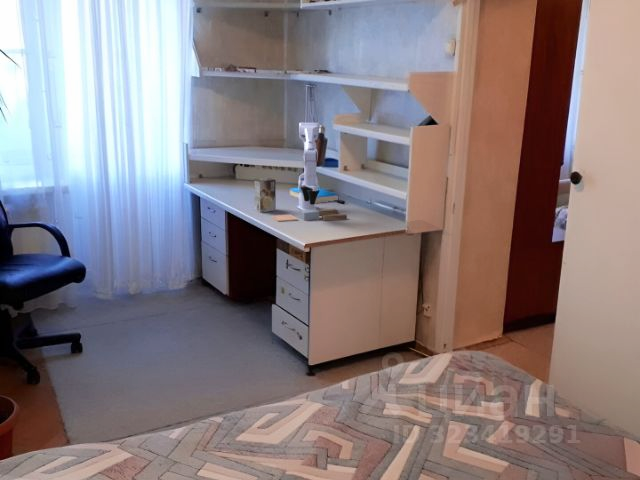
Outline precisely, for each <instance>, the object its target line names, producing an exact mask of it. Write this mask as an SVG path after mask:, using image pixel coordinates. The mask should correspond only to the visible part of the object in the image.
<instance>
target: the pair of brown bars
mask: <svg viewBox="0 0 640 480" xmlns="http://www.w3.org/2000/svg"><path fill="white" fill-rule="evenodd" d="M317 211H319V216H321V220H322V221H323V222H324V221H327V222H328V221H340V220H347V219H348V214H347V213H339V210H338V209H337V208H327V209H326V208H325V209H317Z"/></svg>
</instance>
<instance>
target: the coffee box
mask: <svg viewBox="0 0 640 480" xmlns="http://www.w3.org/2000/svg"><path fill="white" fill-rule="evenodd" d="M253 180H254V181H253V182H254V183H253V185H254V186H253V187H254V191H253V192H254V194H253V198H254V211H255V212H259V213H265V212H274V211H277V210H276V207H277V203H276V202H277V201H276V199H277V198H276V196H277V195H276V179H274V178H271V177H264V178H255V179H253Z"/></svg>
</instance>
